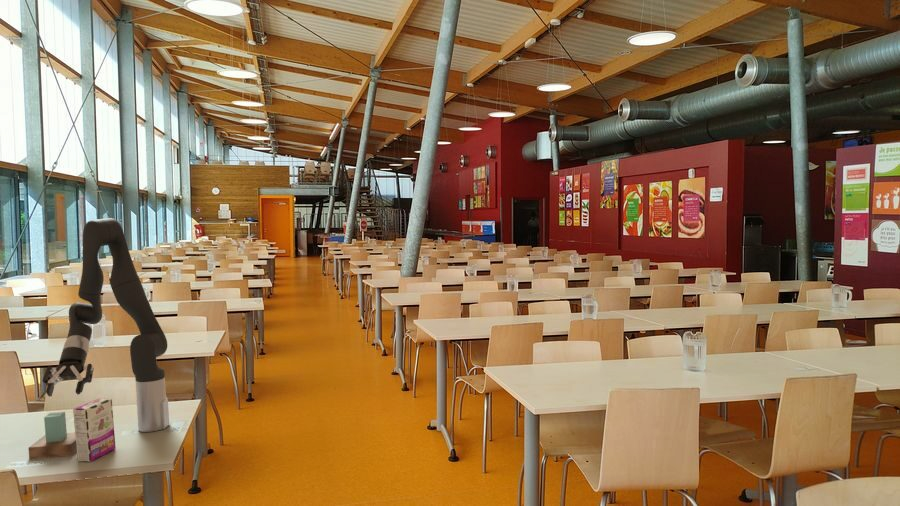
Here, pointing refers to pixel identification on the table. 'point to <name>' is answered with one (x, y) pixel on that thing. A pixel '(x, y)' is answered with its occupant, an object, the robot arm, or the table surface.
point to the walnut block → (53, 447)
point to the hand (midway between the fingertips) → (63, 394)
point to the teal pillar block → (55, 427)
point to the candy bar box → (94, 429)
